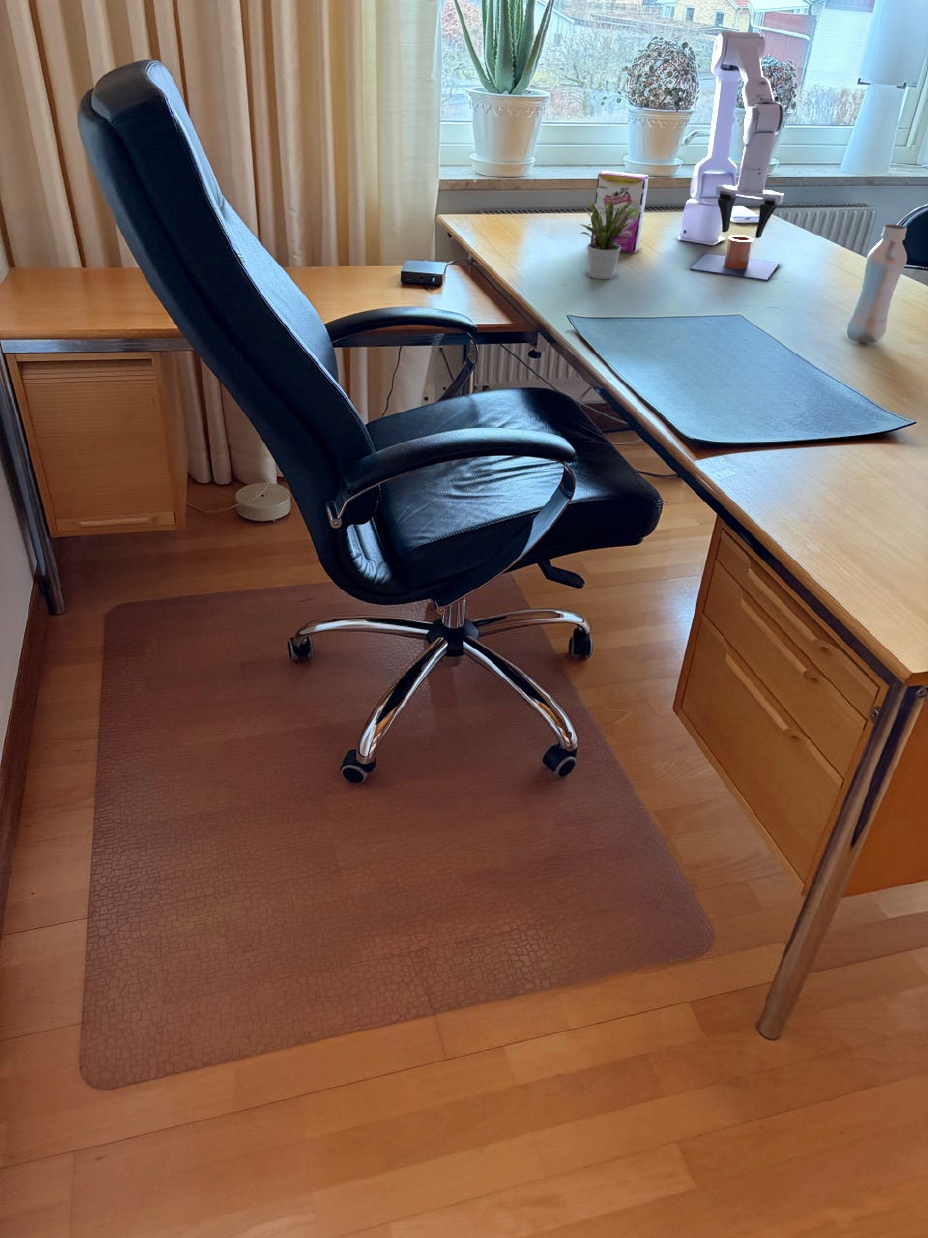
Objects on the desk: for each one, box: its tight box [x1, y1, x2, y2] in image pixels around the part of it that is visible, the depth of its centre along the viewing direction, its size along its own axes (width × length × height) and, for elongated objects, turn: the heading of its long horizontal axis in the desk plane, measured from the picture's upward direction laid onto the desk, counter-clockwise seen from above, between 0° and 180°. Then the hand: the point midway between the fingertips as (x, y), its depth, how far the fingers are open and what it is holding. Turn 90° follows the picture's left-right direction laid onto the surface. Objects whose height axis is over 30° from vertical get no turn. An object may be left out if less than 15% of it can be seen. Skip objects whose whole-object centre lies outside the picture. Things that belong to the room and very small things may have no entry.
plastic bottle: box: [846, 223, 908, 344], centre depth 163 cm, size 6×7×20 cm
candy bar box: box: [590, 170, 650, 254], centre depth 214 cm, size 11×5×16 cm, turn 71°
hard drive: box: [730, 205, 759, 224], centre depth 250 cm, size 2×8×12 cm
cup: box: [724, 234, 754, 269], centre depth 206 cm, size 5×5×6 cm
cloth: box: [690, 253, 780, 282], centre depth 208 cm, size 17×15×1 cm
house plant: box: [578, 195, 639, 280], centre depth 195 cm, size 14×14×16 cm
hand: (741, 234), depth 204 cm, fingers open, 7 cm apart
